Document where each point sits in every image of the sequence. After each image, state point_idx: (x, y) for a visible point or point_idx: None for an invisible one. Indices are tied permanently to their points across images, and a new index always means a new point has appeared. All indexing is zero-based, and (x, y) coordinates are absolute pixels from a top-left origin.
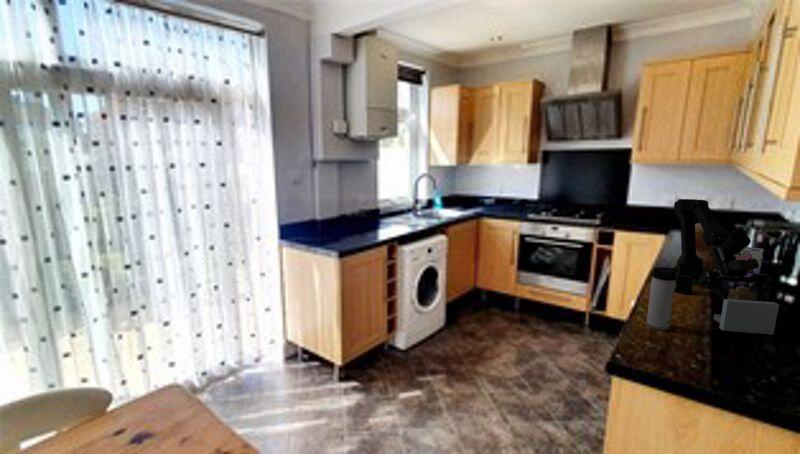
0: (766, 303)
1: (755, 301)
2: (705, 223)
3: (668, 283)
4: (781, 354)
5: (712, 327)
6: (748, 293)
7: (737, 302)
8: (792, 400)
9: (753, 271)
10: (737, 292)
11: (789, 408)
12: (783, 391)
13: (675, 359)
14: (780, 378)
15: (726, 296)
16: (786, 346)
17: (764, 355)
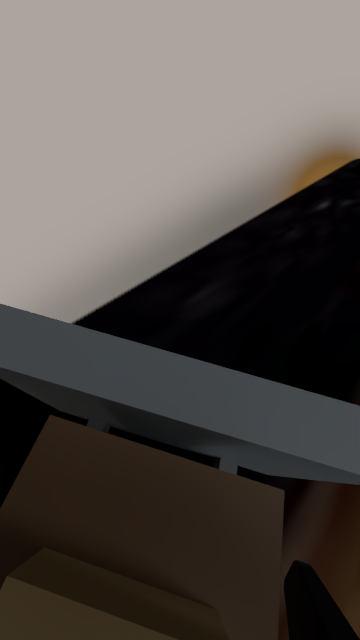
0: (77, 332)
1: (123, 389)
2: None
3: None
4: (213, 264)
5: (297, 485)
6: (135, 466)
7: (309, 393)
8: (336, 170)
9: None
10: (278, 536)
11: (354, 162)
12: (333, 182)
13: None
14: (308, 203)
15: (328, 623)
16: (142, 298)
17: (266, 265)
